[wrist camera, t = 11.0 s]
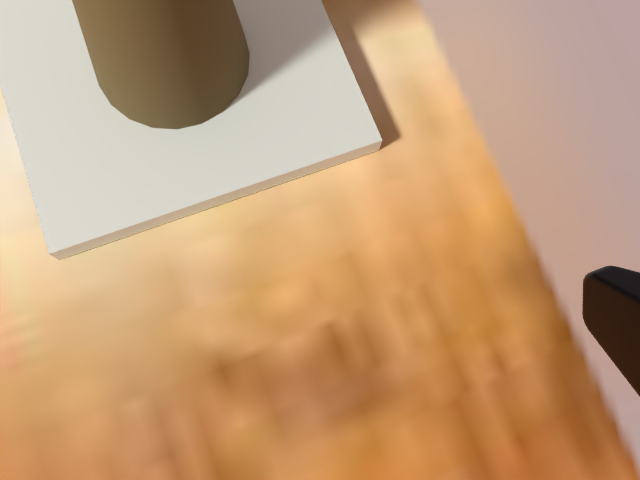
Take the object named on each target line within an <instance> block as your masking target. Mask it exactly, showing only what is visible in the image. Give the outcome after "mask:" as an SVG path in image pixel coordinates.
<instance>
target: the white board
mask: <svg viewBox="0 0 640 480" xmlns="http://www.w3.org/2000/svg"><path fill="white" fill-rule="evenodd" d="M233 2H234V5H235V8H236V11H237V14H238V17H239V19H240V22H241V25H242V28H243V31H244V34H245V38H246V41H247V45H248V49H249V52H250V58H249V70H248V76H247V78H246V81H245V83H244V85H243V87H242V89H241V92H240V94H239V95H238V97H237V98H236V99H235V100H234V101H233V102H232V103H231V104H230V105H229V106H228V107H227V108H226V109H225V110H224V111H223V112H222V113H220V114H218V115H217V116H215V117H213V118H211V119H210V120H208V121H206V122H204V123H202V124H199V125H195V126H190V127H186V128H181V129H163V128H151V127H149V126H146V125H143V124H141V123H138V122H135V121H133V120H130V119H128V118H127V117H126V116H125V115H123V114H122V113H121V112H120V111H118V110H117V109H116V108H114V107H113V106H112V105H111V104H110V102H109V101H108V99H107V98H106V96H105V94H104V93H103V91H102V90H101V88H100V87H99V84H98V81H97V78H96V75H95V72H94V68H93V65H92V62H91V59H90V56H89V53H88V49H87V46H86V43H85V40H84V37H83V34H82V31H81V27H80V24H79V21H78V18H77V15H76V12H75V8H74V5H73V2H72V0H0V86H1V89H2V93H3V96H4V100H5V103H6V106H7V110H8V113H9V117H10V120H11V124H12V127H13V131H14V134H15V138H16V141H17V145H18V148H19V151H20V155H21V158H22V162H23V165H24V169H25V172H26V176H27V179H28V183H29V186H30V190H31V193H32V196H33V200H34V203H35V207H36V210H37V214H38V217H39V221H40V224H41V228H42V231H43V234H44V238H45V241H46V245H47V248H48V252H49V254H50V255H52V256H53V257H55V258H57V259H58V260H61V259H64V258H66V257H69V256H72V255H75V254H78V253H81V252H84V251H87V250H90V249H93V248H96V247H99V246H101V245H104V244H107V243H110V242H113V241H116V240H119V239H122V238H125V237H128V236H131V235H134V234H136V233H139V232H142V231H145V230H148V229H151V228H154V227H157V226H160V225H163V224H166V223H168V222H171V221H174V220H177V219H180V218H183V217H186V216H189V215H192V214H195V213H198V212H201V211H203V210H206V209H209V208H212V207H215V206H218V205H221V204H224V203H227V202H230V201H233V200H236V199H238V198H241V197H244V196H247V195H250V194H253V193H256V192H259V191H262V190H265V189H268V188H270V187H273V186H276V185H279V184H282V183H285V182H288V181H291V180H294V179H297V178H300V177H303V176H305V175H308V174H311V173H314V172H317V171H320V170H323V169H326V168H329V167H332V166H335V165H338V164H340V163H343V162H346V161H349V160H352V159H355V158H358V157H361V156H364V155H367V154H370V153H372V152H375V151H378V150H379V148H380V146H381V143H382V138H381V136H380V133H379V131H378V129H377V126H376V124H375V122H374V120H373V117H372V115H371V113H370V110H369V108H368V106H367V104H366V101H365V99H364V97H363V94H362V92H361V90H360V88H359V85H358V83H357V81H356V78H355V76H354V74H353V72H352V69H351V67H350V65H349V62H348V60H347V58H346V56H345V53H344V51H343V49H342V47H341V44H340V42H339V40H338V37H337V35H336V33H335V31H334V28H333V26H332V24H331V21H330V19H329V17H328V15H327V12H326V10H325V8H324V5H323V3H322V1H321V0H233Z"/></svg>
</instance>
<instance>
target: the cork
mask: <svg viewBox="0 0 640 480" xmlns="http://www.w3.org/2000/svg"><path fill="white" fill-rule="evenodd" d="M72 2H73V5H74V8H75V12H76V15H77V18H78V21H79V24H80V27H81V31H82V34H83V37H84V40H85V43H86V46H87V49H88V53H89V56H90V59H91V62H92V65H93V68H94V72H95V75H96V78H97V81H98V84H99V87H100V88H101V90H102V91H103V93H104V94H105V96H106V98H107V99H108V101H109V102H110V104H111V105H112V106H113V107H114V108H116V109H117V110H118V111H120V112H121V113H122V114H123V115H125V116H126V117H127V118H128V119H130V120H133V121H135V122H138V123H141V124H143V125H146V126H149V127H151V128H163V129H181V128H186V127H190V126H195V125H199V124H202V123H204V122H206V121H208V120H210V119H211V118H213V117H215V116H217V115H218V114H220V113H222V112H223V111H224V110H225V109H226V108H227V107H228V106H229V105H230V104H231V103H232V102H233V101H234V100H235V99H236V98H237V97H238V95H239V94H240V92H241V89H242V87H243V85H244V83H245V81H246V78H247V76H248V70H249V58H250V52H249V49H248V45H247V41H246V38H245V34H244V31H243V28H242V25H241V22H240V19H239V17H238V14H237V11H236V8H235V5H234V2H233V0H72Z"/></svg>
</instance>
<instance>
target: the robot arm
mask: <svg viewBox="0 0 640 480" xmlns="http://www.w3.org/2000/svg"><path fill="white" fill-rule="evenodd" d="M583 319H584V322H585V324H586V326H587V328H588V330H589V331H590V332H591V334H592V335H593V336H594V338H595V339H596V340H597V341H598V343H599V344H600V345H601V347H602V348H603V349H604V351H605V352H606V353H607V355H608V356H609V357H610V358H611V360H612V361H613V362H614V364H615V365H616V366H617V368H618V369H619V370H620V371H621V373H622V374H623V375H624V377H625V378H626V379H627V381H628V382H629V383H630V384H631V386H632V387H633V388H634V390H635V391H636V392H637V394H638V395H639V396H640V273H639V272H635V271H631V270H628V269H624V268H620V267H616V266H606V267H603V268H600V269H598V270H595V271H593V272H590V273H588V274H587V275H586V276H585V278H584V280H583Z"/></svg>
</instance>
